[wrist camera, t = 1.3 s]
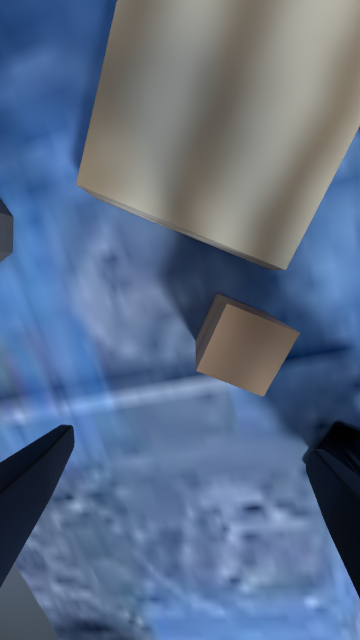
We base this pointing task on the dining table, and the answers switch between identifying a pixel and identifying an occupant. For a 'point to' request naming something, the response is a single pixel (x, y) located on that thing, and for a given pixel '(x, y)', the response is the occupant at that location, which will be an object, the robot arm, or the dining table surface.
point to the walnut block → (242, 345)
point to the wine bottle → (5, 232)
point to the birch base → (225, 117)
